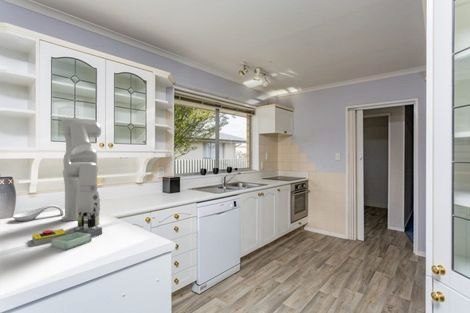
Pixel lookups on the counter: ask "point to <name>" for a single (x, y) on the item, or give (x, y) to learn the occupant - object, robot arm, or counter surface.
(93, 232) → the block
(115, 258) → the counter surface
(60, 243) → the tray
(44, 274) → the counter surface
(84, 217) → the fuse
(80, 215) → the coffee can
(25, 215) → the spoon rest
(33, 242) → the emergency button
